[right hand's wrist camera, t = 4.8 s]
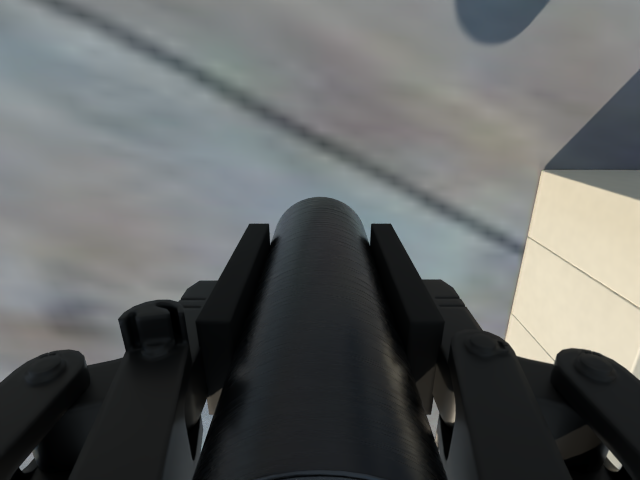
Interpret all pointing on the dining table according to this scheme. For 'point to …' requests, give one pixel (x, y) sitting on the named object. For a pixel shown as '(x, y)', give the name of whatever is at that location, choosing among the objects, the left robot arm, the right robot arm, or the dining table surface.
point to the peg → (319, 367)
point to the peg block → (581, 270)
